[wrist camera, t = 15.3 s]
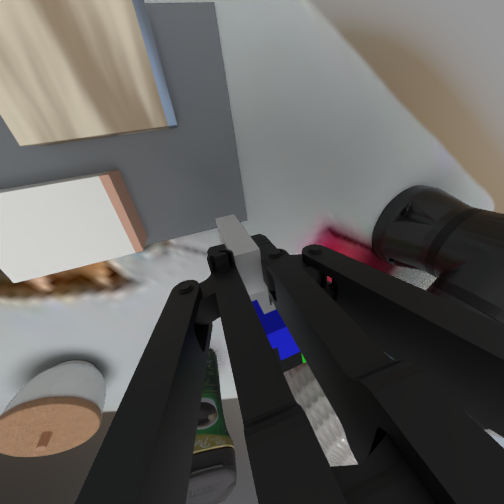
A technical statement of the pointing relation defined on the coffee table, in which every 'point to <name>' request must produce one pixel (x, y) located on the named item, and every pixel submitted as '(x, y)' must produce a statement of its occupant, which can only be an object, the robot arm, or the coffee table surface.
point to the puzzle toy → (277, 332)
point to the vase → (320, 415)
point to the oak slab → (80, 71)
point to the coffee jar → (211, 446)
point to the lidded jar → (54, 411)
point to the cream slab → (67, 225)
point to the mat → (160, 137)
